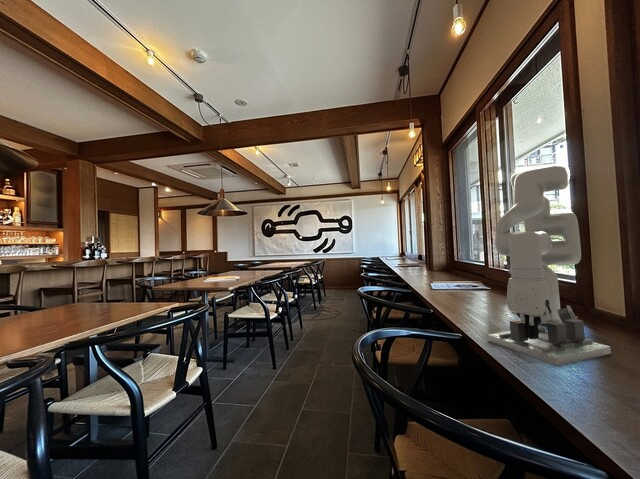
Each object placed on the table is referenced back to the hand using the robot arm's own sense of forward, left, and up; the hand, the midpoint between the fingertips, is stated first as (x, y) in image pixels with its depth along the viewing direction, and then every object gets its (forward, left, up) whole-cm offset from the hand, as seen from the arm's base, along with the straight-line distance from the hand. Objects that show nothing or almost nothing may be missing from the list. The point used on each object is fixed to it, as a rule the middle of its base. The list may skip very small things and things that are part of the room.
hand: (531, 337), depth 80 cm
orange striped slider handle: (0, -4, -2) cm, 4 cm away
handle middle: (-7, +2, -2) cm, 7 cm away
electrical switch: (-25, -6, -4) cm, 26 cm away
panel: (-7, -2, -4) cm, 8 cm away
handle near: (-14, +2, -2) cm, 14 cm away
